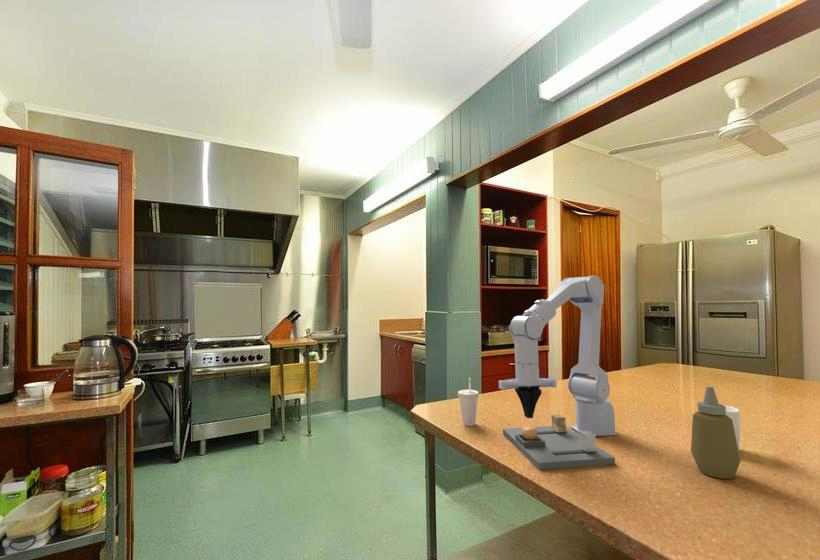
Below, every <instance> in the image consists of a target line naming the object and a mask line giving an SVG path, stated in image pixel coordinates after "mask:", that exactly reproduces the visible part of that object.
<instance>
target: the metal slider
mask: <svg viewBox="0 0 820 560" xmlns="http://www.w3.org/2000/svg"><path fill="white" fill-rule="evenodd" d="M577 434H578V436H579V448H581V449H582V450H584V451H585V452H596V446H597V444H596V443H597V442H596V441H597V440H596V436H595V434H593V433H591V432H589V431H588V430H587V431H578V433H577Z"/></svg>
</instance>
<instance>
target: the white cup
mask: <svg viewBox="0 0 820 560" xmlns="http://www.w3.org/2000/svg"><path fill="white" fill-rule="evenodd" d="M723 405H724V406H725V407H726V414H725V415H727V416H728V417H730V418H731V419H732V421H733V426H734V431H735V436H736V441H737V445H738V450H739V452H740V451H741V450H740V442H741V420H740V419H741V418H740V415H741V410H740V409H739V408H737V407H734V406H730V405H726V404H723Z"/></svg>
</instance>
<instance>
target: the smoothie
mask: <svg viewBox="0 0 820 560" xmlns="http://www.w3.org/2000/svg"><path fill="white" fill-rule="evenodd" d="M471 380H472V379H471V377H468V389H461V390H458V391H457V396H458V397H459V405H460V411H461V419H462V425H463V426H466V425H467V427H474V426H475V425H476V419H477V409H478V397H479V395H480V394H479V391H478V390H475V389H472V386H471V385H472V384H471ZM473 425H474V426H473Z"/></svg>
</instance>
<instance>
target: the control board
mask: <svg viewBox="0 0 820 560" xmlns="http://www.w3.org/2000/svg"><path fill="white" fill-rule="evenodd" d="M534 427H535V428H537V438H536V439H526V438H524V437H523V436H522V427H512V428H511V427H510V428H509V427H508V428H502V435H503V436H504V437H505V438H506V439H507V440H508V441H509V442H511V444H512V445H513V446H514V447H515V448H516V449H517V450H520V451H519V452H521V453H522V455H524V457H525V458H526V459H528V460H529V462H530V463H531V464H533V466H534V467H536V468H537V470H538V471H543V470H546V471H547V470H556V469H557V470H558V469H559V470H560V469H570V468H572V469H573V468H585V467H586V468H587V467H598V466H612V465H613V466H614V465H616V458H615V457H614V456H613V455H612V454H610V453H608V452H606V451H605V450H603V449H602V448H600V447H599V446H597V445H596V452H585V451H584V450H582V449H581V448H579V436H578V433H576V432H575V431H573V429H570V428H568V427H567V426H566V432H556V431H555V430H553V429H552V425H545V426H543V425H542V426H534Z"/></svg>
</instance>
